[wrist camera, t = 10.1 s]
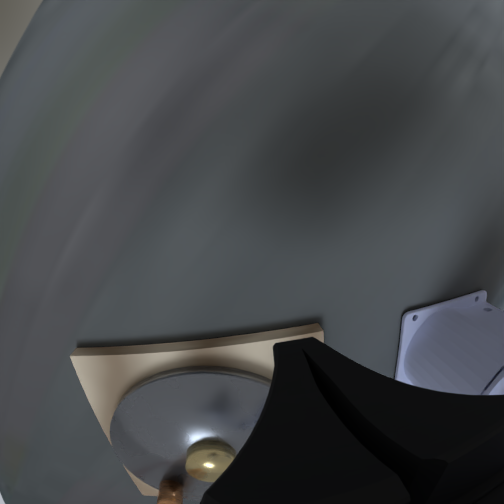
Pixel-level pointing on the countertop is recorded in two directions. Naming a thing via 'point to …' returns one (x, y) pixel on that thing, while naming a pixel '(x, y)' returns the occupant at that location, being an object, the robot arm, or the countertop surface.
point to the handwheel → (186, 427)
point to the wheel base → (172, 366)
